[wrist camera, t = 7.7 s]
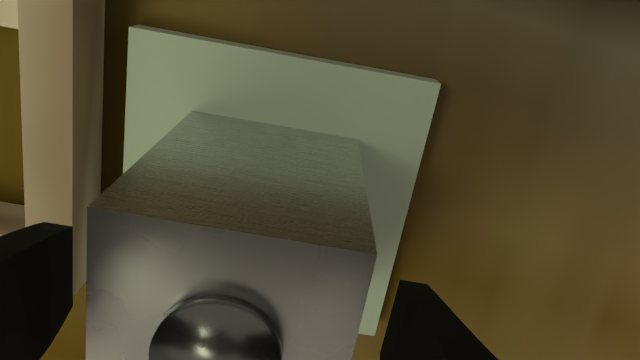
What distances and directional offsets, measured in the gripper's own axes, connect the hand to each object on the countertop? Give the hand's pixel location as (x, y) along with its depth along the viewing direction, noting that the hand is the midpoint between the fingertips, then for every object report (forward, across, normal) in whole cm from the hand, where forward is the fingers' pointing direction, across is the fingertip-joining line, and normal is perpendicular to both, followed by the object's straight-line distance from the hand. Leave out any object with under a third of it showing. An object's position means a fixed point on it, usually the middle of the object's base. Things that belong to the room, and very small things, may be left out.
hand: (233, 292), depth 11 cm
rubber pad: (+6, 0, 0) cm, 6 cm away
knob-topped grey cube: (+5, 0, 0) cm, 5 cm away
